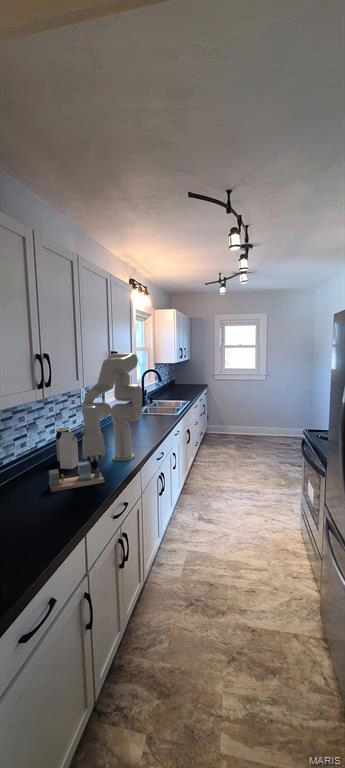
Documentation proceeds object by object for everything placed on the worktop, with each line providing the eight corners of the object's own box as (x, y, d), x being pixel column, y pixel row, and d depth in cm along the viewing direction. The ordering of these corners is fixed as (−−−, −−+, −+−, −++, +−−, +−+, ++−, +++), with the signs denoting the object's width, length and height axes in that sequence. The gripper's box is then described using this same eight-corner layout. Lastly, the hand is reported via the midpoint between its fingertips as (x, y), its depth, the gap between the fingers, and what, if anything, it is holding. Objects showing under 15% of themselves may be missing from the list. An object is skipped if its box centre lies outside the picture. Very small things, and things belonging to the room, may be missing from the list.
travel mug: (60, 457, 204) (58, 427, 203) (73, 457, 204) (71, 427, 202) (55, 462, 197) (53, 431, 195) (69, 461, 196) (67, 430, 194)
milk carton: (72, 469, 184) (70, 434, 182) (60, 468, 185) (57, 434, 183) (78, 464, 191) (76, 430, 189) (67, 464, 192) (64, 430, 190)
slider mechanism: (49, 484, 164) (48, 469, 163) (100, 475, 174) (99, 460, 173) (51, 492, 155) (50, 475, 154) (104, 482, 165) (103, 466, 164)
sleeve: (78, 476, 167) (77, 462, 167) (88, 474, 169) (88, 460, 169) (80, 480, 162) (79, 466, 161) (91, 478, 164) (90, 464, 163)
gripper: (77, 435, 159) (80, 474, 161) (109, 431, 165) (111, 468, 167) (75, 431, 166) (77, 469, 167) (106, 428, 172) (107, 464, 173)
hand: (94, 468), depth 167 cm, fingers closed
